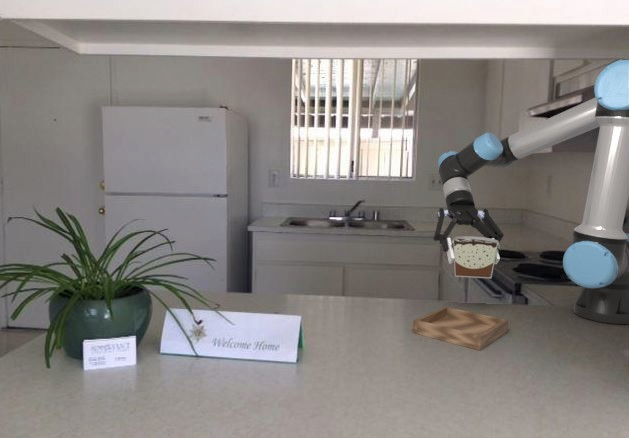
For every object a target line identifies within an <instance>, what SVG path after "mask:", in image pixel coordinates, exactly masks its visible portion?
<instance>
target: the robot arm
mask: <svg viewBox="0 0 629 438" xmlns="http://www.w3.org/2000/svg"><path fill="white" fill-rule="evenodd" d="M593 86H594V87H593V90H594V97H593V98H591V99H589V100H586V101H584V102H582V103H580V104H577V105H576V106H573V107H571V108H568V109H566V110H565V111H562V112H560V113H557V114H556V115H553V116H551V117H550V118H546V119H545V120H542V121H540V122H538V123H536V124H534V125H533V124H532V125H531V126H529V127H527V128H525V129H522V130H520V131H518V132H515V133H514V134H511V135H509V136H507V137H504V138H503V139H499V137H497V136H496V135H495V134H493V133H492V132H485V133H484V134H482V135H480V136H478V137H476V138H475V139H474V140H473V141H471V143H469V144H468V145H467V146H465V147H463V149H461V150H460V151H456V150H450V151H448V152H444V153H443V154H441V155H440V156H439V158H438V160H437V168H438V169H437V171H438V174H439V177H440V180H441V181H440V182H441V185H442V190H443V191H442V192H443V195H444V198H445V203H446V208H447V209H446V210H445V209H444V208H443V207H441V208H439V209H438V212H437V214H436V215H437V222H436V223H437V224H436V228H435V230H434V235H433V241H435V242H436V241H439V244H440V245H441V247H442V251H443V252H444V253H446V255H447V259H448V264H449V265H452V264H454V259H455V258H454V251H453V245H452V246H451V243H452V239H451V237H449V235H450V234H451V232H452V231H453V229H454V228H455V226H456V225H458V226H462V225H463V226H471V228H475V229H476V230H477V231H478V232H479V233H480V234H481V235H482V237H484V238H490V239H495V240H498V243H501V241H502V240H503V237H504V236H505V235H504V233H503V232H502V230H501V229H500V227H499V226H498V225H497V223H496V222H495V221H494V220H493V218H492V217H491V216H490V213H489V210H488V209H487V208H484V209H483V210H478V209H477V208H476V205H475V201H474V197H473V193H472V189H471V185H470V182H469V177H470V176H471V175H473V174H474V173H476V172H478V170H480V169H482V168H483V167H488V168H489V167H491V168H492V167H494V168H505V167H509V166H512V165H513V164H514V163H515V162H516V161H519V160H521V159H522V158H525V157H528V156H530V155H533V154H535V153H537V152H540V151H542V150H545V149H548V148H550V147H552V146H555V145H557V144H560V143H562V142H564V141H567V140H569V139H572V138H575V137H577V136H580V135H582V134H584V133H586V132H587V133H588V132H590V131H592V130H594V129H598V128H599V131H598V136H597V141H596V147H595V152H594V158H593V163H592V168H591V169H592V170H591V174H590V178H589V179H590V180H589V185H588V189H587V190H588V191H587V195H586V201H585V206H584V212H583V217H582V222H581V223H580V224H579V225H577V226H576V227H575V228H574V229H573V234H572V239H571V245H570V246H569V247H567V249H566V251H565V252H564V254H563V258H562V267H563V271H564V272H565V274H566V276H567V277H568V279H570V281H572V282H573V283H574V284H576V285H578V286H580V287H581V288H580V290H579V292H578V295H577V297H576V298H575V301H574V304H573V311H572V312H573V313H574V314H576V316H578V317H580V318H584V319H587V320H591V321H594V322H600V323H605V324H606V323H607V324H616V325H629V233H627V232H626V233H625V231H623V230H624V229H623V225H624V221H625V216H626V210H627V205H628V201H629V60H622V59H618V60H616V61H613V62H612V63H609V65H607V66H606V67H604V69H603V70H601V72H600V73H599V74H598V76H597V78H596V80H595V83H594V85H593ZM446 217H448V218H450V219H451V221H450V223H449V224H448V226H447V228H446V229H445V231H444V232H443V234H441V231H442V227H443V224H444V220H445V218H446ZM481 220H482V221H481ZM499 247H500V245H499ZM500 250H501V247H500V249H499V248H497V252H496V257H495V262H494V265H497V264H498V263H499V261H500V259H501V257H500V254H499V251H500Z"/></svg>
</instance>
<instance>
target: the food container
mask: <svg viewBox="0 0 629 438" xmlns="http://www.w3.org/2000/svg"><path fill="white" fill-rule="evenodd" d="M451 246H452V248H453V253H454V258H455V259H454V261H453V270H454V271H453V273H454V274H453V275H454V277H457V278H459V277H460V278H474V279H475V278H476V279H477V278H478V279H493V278H492V277H493V271H494V267H495V264H494V262H495V257H496V252H497V248H499V249H500V250H501V247H499V246H500V242H498V240H495V239H490V238H485V237H484V236H474V235H473V236H469V235H467V236H466V235H465V236H464V235H463V236H461V235H460V236H454V237H453V239H451Z"/></svg>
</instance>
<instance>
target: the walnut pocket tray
mask: <svg viewBox="0 0 629 438" xmlns="http://www.w3.org/2000/svg"><path fill="white" fill-rule="evenodd" d="M412 323H413V324H412V334H417V335H420V336H423V337H427V338H431V339H435V340H439V341H442V342H446V343H450V344H454V345H457V346H462V347H465V348H469V349H472V350H477V351H482V350H483V349H485V348H486V347H488V346H489V345H491V344H493V343H494V342H495V341H497V340H498V339H500V338H501V337H503V336H504V334H505V335H506V334H507V332H508V331H509V319H504V318H499V317H495V316H491V315H485V314H482V313H476V312H473V311H467V310H462V309H458V308H453V307H449V306H444V307H441V308H438V309H436V310H433V311H432V312H429V313H427V314H425V315H423V316H420V317H418V318H416V319H414V320H412ZM508 333H509V332H508Z"/></svg>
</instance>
